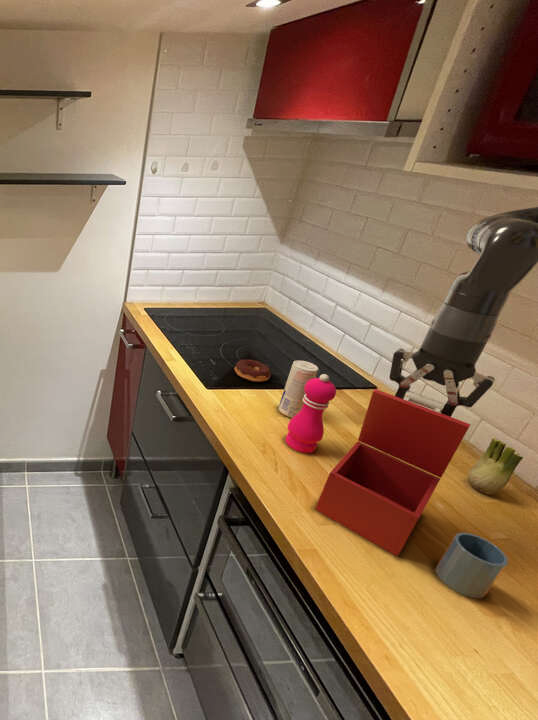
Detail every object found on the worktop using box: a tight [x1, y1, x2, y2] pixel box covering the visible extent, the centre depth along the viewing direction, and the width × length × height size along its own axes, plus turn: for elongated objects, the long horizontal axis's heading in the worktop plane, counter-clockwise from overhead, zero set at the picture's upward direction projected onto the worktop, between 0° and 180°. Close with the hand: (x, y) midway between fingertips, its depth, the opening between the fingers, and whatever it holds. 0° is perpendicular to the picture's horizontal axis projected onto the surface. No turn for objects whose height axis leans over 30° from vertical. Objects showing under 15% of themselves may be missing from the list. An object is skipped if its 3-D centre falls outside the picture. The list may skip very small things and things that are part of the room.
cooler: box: [314, 440, 441, 557], centre depth 88 cm, size 16×14×10 cm
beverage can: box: [277, 360, 319, 419], centre depth 118 cm, size 6×6×15 cm
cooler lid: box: [357, 388, 471, 479], centre depth 86 cm, size 16×14×5 cm
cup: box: [435, 532, 509, 599], centre depth 75 cm, size 6×6×8 cm
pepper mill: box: [285, 373, 337, 454], centre depth 105 cm, size 7×7×20 cm
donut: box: [234, 359, 272, 383], centre depth 138 cm, size 10×10×4 cm
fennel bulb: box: [467, 437, 524, 496], centre depth 94 cm, size 6×5×12 cm
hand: (419, 410), depth 85 cm, fingers closed on cooler lid, 5 cm apart
